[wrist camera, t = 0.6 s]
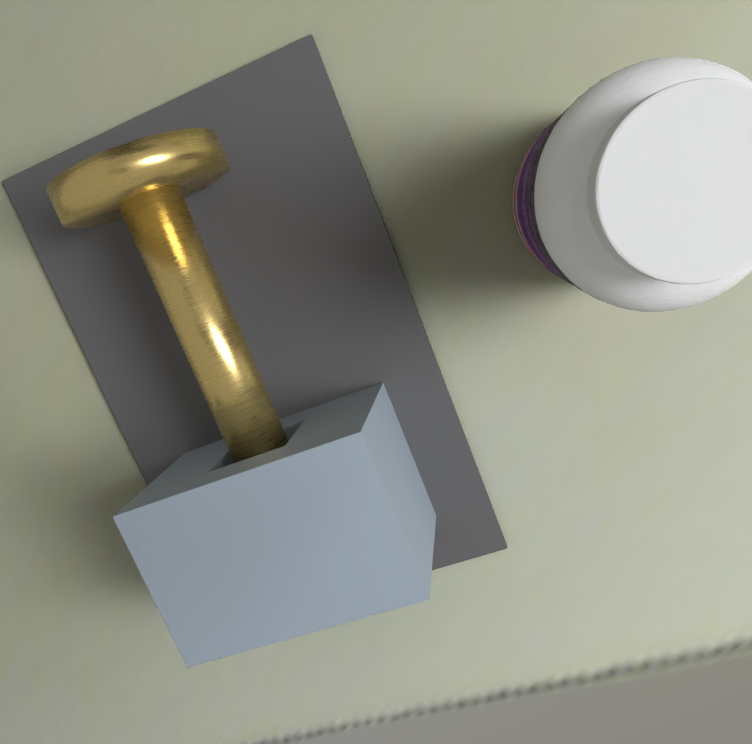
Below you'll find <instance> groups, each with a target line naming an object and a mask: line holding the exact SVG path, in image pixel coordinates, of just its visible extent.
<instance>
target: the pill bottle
mask: <svg viewBox="0 0 752 744" xmlns="http://www.w3.org/2000/svg"><path fill="white" fill-rule="evenodd" d="M513 212H514V218H515V223H516V226H517V229H518V232H519V234H520V237H521V239H522V241H523V242H524V244H525V246H526V247H527V249H528V250H529V251H530V252H531V254H532V255H533V256H534V257H535V258H536V259H537V260H538V262H540V263H541V264H542V265H543V266H544V267H545V268H547V269H548V270H549V271H551V272H553V273H554V274H556V275H558V276H560V277H561V278H563V279H565V280H566V281H568V282H569V283H571V284H573V285H574V286H576V287H577V288H579V289H580V290H582V291H584V292H585V293H587V294H589V295H591V296H592V297H594V298H596V299H598V300H601V301H603V302H606V303H608V304H611V305H614V306H617V307H621V308H625V309H629V310H636V311H646V312H661V311H669V310H677V309H682V308H686V307H690V306H693V305H696V304H699V303H702V302H704V301H707V300H710V299H711V298H713V297H715V296H717V295H719V294H721V293H723V292H725V291H726V290H728V289H729V288H731V287H732V286H734V285H735V284H737V283H738V282H739V281H741V280H742V279H743V278H744V277H745V276H747V275H748V274H749V273H750V272H751V271H752V81H750V80H749V79H748V78H747V77H745V76H743V75H742V74H740V73H738V72H737V71H735V70H733V69H731V68H729V67H726V66H724V65H721V64H718V63H715V62H712V61H708V60H704V59H697V58H691V57H667V58H657V59H652V60H647V61H643V62H640V63H637V64H634V65H631V66H628V67H625V68H623V69H621V70H619V71H616V72H615V73H613V74H611V75H609V76H607V77H606V78H604V79H602V80H601V81H599V82H598V83H597V84H595V85H594V86H592V87H591V88H590V89H588V90H587V91H586V92H585V93H584V94H582V95H581V96H580V97H579V98H578V99H577V100H576V101H575V102H574V103H573V104H572V105H571V106H570V107H569V108H568V109H567V110H566V111H565V112H564V113H563V114H562V115H561V116H560V117H559V118H558V119H556V120H555V121H554V122H553V123H552V124H551V125H549V126H548V127H547V128H546V129H545V130H544V131H543V132H542V133H541V134H540V135H539V136H538V138H537V139H536V140H535V141H534V143H533V144H532V145H531V147H530V148H529V150H528V151H527V153H526V154H525V156H524V158H523V160H522V162H521V165H520V167H519V170H518V172H517V176H516V179H515V184H514V191H513Z"/></svg>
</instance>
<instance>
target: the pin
mask: <svg viewBox="0 0 752 744" xmlns="http://www.w3.org/2000/svg"><path fill="white" fill-rule="evenodd" d="M229 169H230V164H229V162H228V159H227V157H226V155H225V152H224V150H223V147H222V145H221V143H220V140H219V138H218V135H217V133H216V132H215V131H214V130H211V129H207V128H188V129H180V130H174V131H169V132H164V133H159V134H155V135H151V136H148V137H144V138H141V139H137V140H134V141H131V142H128V143H125V144H122V145H119V146H116V147H114V148H111V149H109V150H106V151H104V152H101V153H99V154H96V155H94V156H92V157H90V158H88V159H86V160H84V161H82V162H79V163H78V164H76V165H74V166H72V167H70V168H69V169H67V170H65V171H64V172H62V173H61V174H60V175H58V176H57V177H56V178H54V179H53V180H52V181H51V182H50V183H49V185H48V186H47V189H46V191H47V194H48V196H49V198H50V200H51V202H52V205H53V207H54V209H55V211H56V213H57V215H58V217H59V220H60V222H61V224H62V226H63V227H65V228H69V229H79V228H88V227H94V226H99V225H104V224H108V223H112V222H116V221H120V220H123V219H124V220H125V222H126V224H127V226H128V228H129V231H130V233H131V235H132V237H133V240H134V242H135V244H136V246H137V248H138V251H139V253H140V255H141V257H142V259H143V262H144V264H145V266H146V268H147V271H148V273H149V275H150V277H151V279H152V282H153V284H154V286H155V288H156V291H157V293H158V295H159V297H160V299H161V302H162V304H163V306H164V308H165V311H166V313H167V315H168V317H169V319H170V322H171V324H172V326H173V328H174V330H175V333H176V335H177V337H178V339H179V342H180V344H181V346H182V348H183V350H184V353H185V355H186V357H187V359H188V362H189V364H190V366H191V368H192V370H193V373H194V375H195V377H196V379H197V381H198V384H199V386H200V388H201V390H202V393H203V395H204V397H205V399H206V401H207V404H208V406H209V408H210V410H211V413H212V415H213V417H214V419H215V421H216V424H217V426H218V428H219V430H220V433H221V435H222V437H223V439H224V441H225V444H226V446H227V448H228V450H229V452H230V455H231V457H232V459H233V461H234V463H237V462H239V461H242V460H245V459H248V458H251V457H254V456H257V455H260V454H263V453H266V452H268V451H271V450H274V449H277V448H280V447H283V446H285V445H286V444H287V443H288V441H289V440H288V438H287V435H286V433H285V431H284V428H283V426H282V424H281V421H280V419H279V417H278V414H277V412H276V410H275V408H274V405H273V403H272V401H271V398H270V396H269V394H268V391H267V389H266V387H265V384H264V382H263V380H262V377H261V375H260V373H259V371H258V368H257V366H256V364H255V361H254V359H253V357H252V354H251V352H250V350H249V347H248V345H247V343H246V340H245V338H244V336H243V334H242V331H241V329H240V327H239V324H238V322H237V320H236V317H235V315H234V313H233V310H232V308H231V306H230V303H229V301H228V299H227V297H226V294H225V292H224V290H223V287H222V285H221V283H220V280H219V278H218V276H217V273H216V271H215V269H214V266H213V264H212V262H211V259H210V257H209V255H208V253H207V250H206V248H205V246H204V243H203V241H202V239H201V236H200V234H199V232H198V229H197V227H196V225H195V222H194V220H193V218H192V216H191V213H190V211H189V209H188V206H187V204H186V202H185V199H184V197H186V196H189V195H191V194H193V193H195V192H197V191H199V190H201V189H203V188H205V187H207V186H208V185H210V184H212V183H214V182H215V181H217V180H218V179H220V178H221V177H222V176H224V175H225V174H226V173H227V172H228V171H229Z"/></svg>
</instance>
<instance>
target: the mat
mask: <svg viewBox="0 0 752 744" xmlns="http://www.w3.org/2000/svg"><path fill="white" fill-rule="evenodd" d="M188 128H207V129H211V130H214V131H215V132H216V133H217V135H218V138H219V140H220V143H221V145H222V147H223V150H224V152H225V155H226V157H227V159H228V162H229V164H230V169H229V171H228V172H227V173H226V174H225V175H224V176H222V177H221V178H220V179H218V180H217V181H215V182H214V183H212V184H210V185H208V186H207V187H205V188H203V189H201V190H199V191H197V192H195V193H193V194H191V195H189V196H186V197H184V199H185V202H186V204H187V206H188V209H189V211H190V213H191V216H192V218H193V220H194V222H195V225H196V227H197V229H198V232H199V234H200V236H201V239H202V241H203V243H204V246H205V248H206V250H207V253H208V255H209V257H210V259H211V262H212V264H213V266H214V269H215V271H216V273H217V276H218V278H219V280H220V283H221V285H222V287H223V290H224V292H225V294H226V297H227V299H228V301H229V303H230V306H231V308H232V310H233V313H234V315H235V317H236V320H237V322H238V324H239V327H240V329H241V331H242V334H243V336H244V338H245V340H246V343H247V345H248V347H249V350H250V352H251V354H252V357H253V359H254V361H255V364H256V366H257V368H258V371H259V373H260V375H261V377H262V380H263V382H264V384H265V387H266V389H267V391H268V394H269V396H270V398H271V401H272V403H273V405H274V408H275V410H276V412H277V414H278V417H279V419H281V418H284V417H287V416H290V415H293V414H295V413H298V412H301V411H304V410H307V409H309V408H312V407H315V406H318V405H321V404H324V403H326V402H329V401H332V400H335V399H338V398H340V397H343V396H346V395H349V394H352V393H355V392H357V391H360V390H363V389H366V388H369V387H371V386H374V385H377V384H380V383H384V386H385V388H386V391H387V393H388V396H389V398H390V401H391V403H392V406H393V408H394V411H395V413H396V416H397V418H398V421H399V423H400V426H401V428H402V431H403V433H404V436H405V438H406V441H407V443H408V446H409V448H410V451H411V454H412V456H413V459H414V461H415V464H416V466H417V469H418V471H419V474H420V476H421V479H422V481H423V484H424V486H425V489H426V491H427V494H428V496H429V499H430V501H431V504H432V506H433V509H434V511H435V514H436V526H435V538H434V550H433V562H432V570H434V569H438V568H441V567H445V566H448V565H451V564H455V563H458V562H462V561H465V560H469V559H472V558H476V557H479V556H482V555H486V554H489V553H493V552H496V551H500V550H503V549H506V548H507V544H506V542H505V539H504V536H503V534H502V531H501V529H500V526H499V523H498V521H497V518H496V515H495V513H494V510H493V508H492V505H491V502H490V500H489V497H488V494H487V492H486V489H485V487H484V484H483V481H482V479H481V476H480V474H479V471H478V468H477V466H476V463H475V460H474V458H473V455H472V453H471V450H470V447H469V445H468V442H467V439H466V437H465V434H464V432H463V429H462V426H461V424H460V421H459V418H458V416H457V413H456V411H455V408H454V405H453V403H452V400H451V397H450V395H449V392H448V390H447V387H446V384H445V382H444V379H443V377H442V374H441V371H440V369H439V366H438V363H437V361H436V358H435V356H434V353H433V350H432V348H431V345H430V342H429V340H428V337H427V335H426V332H425V329H424V327H423V324H422V321H421V319H420V316H419V314H418V311H417V308H416V306H415V303H414V300H413V298H412V295H411V293H410V290H409V287H408V285H407V282H406V279H405V277H404V274H403V272H402V269H401V266H400V264H399V261H398V259H397V256H396V253H395V251H394V248H393V245H392V243H391V240H390V238H389V235H388V232H387V230H386V227H385V224H384V222H383V219H382V217H381V214H380V211H379V209H378V206H377V203H376V201H375V198H374V196H373V193H372V190H371V188H370V185H369V182H368V180H367V177H366V175H365V172H364V169H363V167H362V164H361V161H360V159H359V156H358V154H357V151H356V148H355V146H354V143H353V141H352V138H351V135H350V133H349V130H348V127H347V125H346V122H345V120H344V117H343V114H342V112H341V109H340V106H339V104H338V101H337V99H336V96H335V93H334V91H333V88H332V85H331V83H330V80H329V78H328V75H327V72H326V70H325V67H324V64H323V62H322V59H321V57H320V54H319V51H318V49H317V46H316V44H315V41H314V38H313V36H312V35H308V36H306V37H304V38H302V39H300V40H298V41H296V42H294V43H292V44H290V45H287V46H285V47H283V48H281V49H279V50H277V51H275V52H273V53H271V54H269V55H266V56H264V57H262V58H260V59H258V60H256V61H254V62H252V63H250V64H247V65H245V66H243V67H241V68H239V69H237V70H235V71H233V72H231V73H229V74H226V75H224V76H222V77H220V78H218V79H216V80H214V81H212V82H210V83H208V84H205V85H203V86H201V87H199V88H197V89H195V90H193V91H191V92H189V93H186V94H184V95H182V96H180V97H178V98H176V99H174V100H172V101H170V102H168V103H165V104H163V105H161V106H159V107H157V108H155V109H153V110H151V111H149V112H146V113H144V114H142V115H140V116H138V117H136V118H134V119H132V120H130V121H128V122H125V123H123V124H121V125H119V126H117V127H115V128H113V129H111V130H109V131H107V132H104V133H102V134H100V135H98V136H96V137H94V138H92V139H90V140H88V141H85V142H83V143H81V144H79V145H77V146H75V147H73V148H71V149H69V150H67V151H64V152H62V153H60V154H58V155H56V156H54V157H52V158H50V159H48V160H46V161H43V162H41V163H39V164H37V165H35V166H33V167H31V168H29V169H27V170H24V171H22V172H20V173H18V174H16V175H14V176H12V177H10V178H8V179H6V180H3V181H2V182H3V185H4V187H5V189H6V191H7V193H8V195H9V197H10V199H11V201H12V203H13V205H14V208H15V210H16V212H17V214H18V216H19V218H20V220H21V222H22V224H23V226H24V228H25V231H26V233H27V235H28V237H29V239H30V241H31V243H32V245H33V247H34V249H35V251H36V253H37V256H38V258H39V260H40V262H41V264H42V266H43V268H44V270H45V272H46V274H47V276H48V279H49V281H50V283H51V285H52V287H53V289H54V291H55V293H56V295H57V297H58V299H59V302H60V304H61V306H62V308H63V310H64V312H65V314H66V316H67V318H68V320H69V322H70V325H71V327H72V329H73V331H74V333H75V335H76V337H77V339H78V341H79V343H80V345H81V347H82V350H83V352H84V354H85V356H86V358H87V360H88V362H89V364H90V366H91V368H92V370H93V373H94V375H95V377H96V379H97V381H98V383H99V385H100V387H101V389H102V391H103V393H104V396H105V398H106V400H107V402H108V404H109V406H110V408H111V410H112V412H113V414H114V416H115V418H116V421H117V423H118V425H119V427H120V429H121V431H122V433H123V435H124V437H125V439H126V441H127V444H128V446H129V448H130V450H131V452H132V454H133V456H134V458H135V460H136V462H137V464H138V467H139V469H140V471H141V473H142V475H143V477H144V479H145V481H146V483H147V485H149V484H150V483H151V482H152V481H154V480H155V479H156V478H157V477H158V476H159V475H160V474H161V473H163V472H164V471H165V470H166V469H167V468H168V467H169V466H171V465H172V464H173V463H174V462H175V461H176V460H177V459H179V458H180V457H181V456H182V455H183V454H184V453H185V452H188V451H191V450H194V449H197V448H200V447H202V446H205V445H208V444H211V443H214V442H216V441H219V440H222V439H223V437H222V435H221V433H220V430H219V428H218V426H217V424H216V421H215V419H214V417H213V415H212V413H211V410H210V408H209V406H208V404H207V401H206V399H205V397H204V395H203V393H202V390H201V388H200V386H199V384H198V381H197V379H196V377H195V375H194V373H193V370H192V368H191V366H190V364H189V362H188V359H187V357H186V355H185V353H184V350H183V348H182V346H181V344H180V342H179V339H178V337H177V335H176V333H175V330H174V328H173V326H172V324H171V322H170V319H169V317H168V315H167V313H166V311H165V308H164V306H163V304H162V302H161V299H160V297H159V295H158V293H157V291H156V288H155V286H154V284H153V282H152V279H151V277H150V275H149V273H148V271H147V268H146V266H145V264H144V262H143V259H142V257H141V255H140V253H139V251H138V248H137V246H136V244H135V242H134V240H133V237H132V235H131V233H130V231H129V228H128V226H127V224H126V222H125V220H124V219H123V220H120V221H116V222H112V223H108V224H104V225H99V226H94V227H88V228H79V229H69V228H65V227H63V226H62V224H61V222H60V220H59V217H58V215H57V213H56V211H55V209H54V207H53V205H52V202H51V200H50V198H49V196H48V194H47V191H46V189H47V186H48V185H49V183H50V182H51V181H52V180H53V179H54V178H56V177H57V176H58V175H60V174H61V173H62V172H64V171H65V170H67V169H69V168H70V167H72V166H74V165H76V164H78V163H79V162H82V161H84V160H86V159H88V158H90V157H92V156H94V155H96V154H99V153H101V152H104V151H106V150H109V149H111V148H114V147H116V146H119V145H122V144H125V143H128V142H131V141H134V140H137V139H141V138H144V137H148V136H151V135H155V134H159V133H164V132H169V131H174V130H180V129H188Z"/></svg>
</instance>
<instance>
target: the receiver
mask: <svg viewBox="0 0 752 744" xmlns="http://www.w3.org/2000/svg"><path fill="white" fill-rule="evenodd" d="M280 421H281V424H282V426H283V428H284V431H285V433H286V435H287V438H288V440H289V441H288V443H287V444H286V445H285V446H283V447H280V448H277V449H274V450H271V451H268V452H266V453H263V454H260V455H257V456H254V457H251V458H248V459H245V460H242V461H239V462H237V463H234V461H233V459H232V457H231V455H230V452H229V450H228V448H227V446H226V444H225V441H224V439H222V440H219V441H216V442H214V443H211V444H208V445H205V446H202V447H200V448H197V449H194V450H191V451H188V452H185V453H184V454H183V455H182V456H181V457H180V458H179V459H177V460H176V461H175V462H174V463H173V464H172V465H171V466H169V467H168V468H167V469H166V470H165V471H164V472H163V473H161V474H160V475H159V476H158V477H157V478H156V479H155V480H154V481H152V482H151V483H150V484H149V485H148V486H147V487H146V488H144V489H143V490H142V491H141V492H140V493H139V494H138V495H136V496H135V497H134V498H133V499H132V500H131V501H130V502H129V503H127V504H126V505H125V506H124V507H123V508H122V509H121V510H119V511H118V512H117V513H116V514H115V515H114V516H113V519H114V521H115V523H116V525H117V527H118V529H119V531H120V533H121V535H122V537H123V539H124V541H125V543H126V545H127V547H128V549H129V551H130V553H131V555H132V557H133V559H134V562H135V564H136V566H137V568H138V570H139V572H140V574H141V576H142V578H143V580H144V582H145V584H146V586H147V588H148V590H149V592H150V594H151V596H152V598H153V600H154V602H155V604H156V606H157V608H158V610H159V612H160V614H161V616H162V618H163V620H164V622H165V624H166V626H167V628H168V630H169V632H170V634H171V636H172V639H173V641H174V643H175V645H176V647H177V649H178V651H179V653H180V655H181V657H182V659H183V661H184V663H185V665H186V667H187V668H188V667H191V666H195V665H199V664H202V663H206V662H209V661H213V660H216V659H220V658H223V657H227V656H230V655H234V654H238V653H241V652H245V651H248V650H252V649H255V648H259V647H262V646H266V645H269V644H273V643H276V642H280V641H284V640H287V639H291V638H294V637H298V636H301V635H305V634H308V633H312V632H315V631H319V630H323V629H326V628H330V627H333V626H337V625H340V624H344V623H347V622H351V621H354V620H358V619H361V618H365V617H369V616H372V615H376V614H379V613H383V612H386V611H390V610H393V609H397V608H400V607H404V606H408V605H411V604H415V603H418V602H422V601H425V600H429V597H430V585H431V573H432V562H433V550H434V538H435V526H436V514H435V511H434V509H433V506H432V504H431V501H430V499H429V496H428V494H427V491H426V489H425V486H424V484H423V481H422V479H421V476H420V474H419V471H418V469H417V466H416V464H415V461H414V459H413V456H412V454H411V451H410V448H409V446H408V443H407V441H406V438H405V436H404V433H403V431H402V428H401V426H400V423H399V421H398V418H397V416H396V413H395V411H394V408H393V406H392V403H391V401H390V398H389V396H388V393H387V391H386V388H385V386H384V383H380V384H377V385H374V386H371V387H369V388H366V389H363V390H360V391H357V392H355V393H352V394H349V395H346V396H343V397H340V398H338V399H335V400H332V401H329V402H326V403H324V404H321V405H318V406H315V407H312V408H309V409H307V410H304V411H301V412H298V413H295V414H293V415H290V416H287V417H284V418H281V419H280Z"/></svg>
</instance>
